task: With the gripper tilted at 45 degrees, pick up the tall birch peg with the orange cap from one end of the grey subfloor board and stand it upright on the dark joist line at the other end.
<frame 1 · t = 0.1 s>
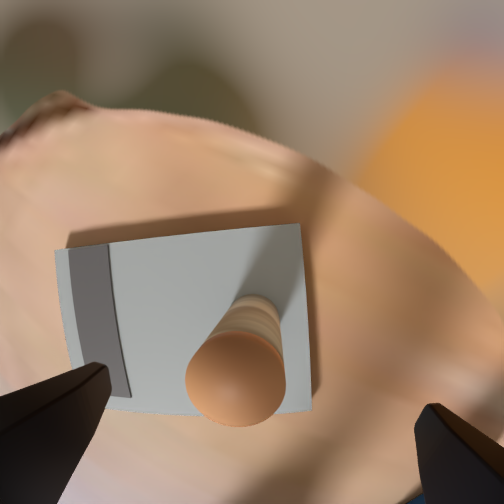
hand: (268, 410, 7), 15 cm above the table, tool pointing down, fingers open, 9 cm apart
subfloor board: (174, 328, 23), on the table
birch peg: (253, 319, 21), point 1 cm above the table, touching subfloor board
joist line: (105, 321, 23), resting on subfloor board
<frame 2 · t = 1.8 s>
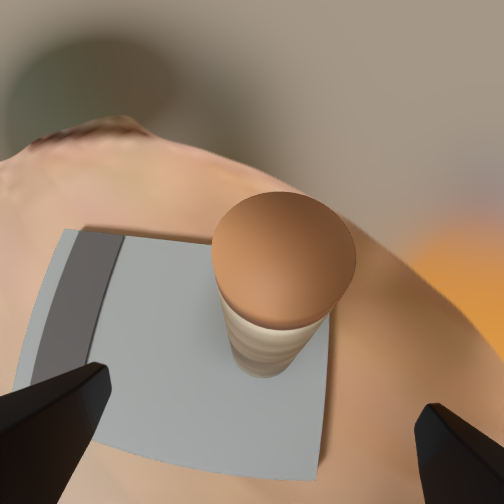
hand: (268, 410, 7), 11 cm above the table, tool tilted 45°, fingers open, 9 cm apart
subfloor board: (162, 348, 18), on the table
birch peg: (263, 347, 17), point 2 cm above the table, touching subfloor board
joist line: (83, 320, 19), resting on subfloor board
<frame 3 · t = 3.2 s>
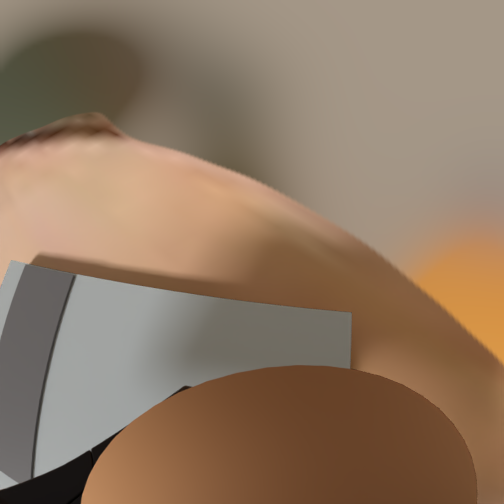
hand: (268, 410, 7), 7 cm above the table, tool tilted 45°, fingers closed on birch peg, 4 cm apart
subfloor board: (125, 426, 12), on the table
birch peg: (256, 442, 11), point 2 cm above the table, touching gripper, subfloor board
joist line: (34, 378, 13), resting on subfloor board
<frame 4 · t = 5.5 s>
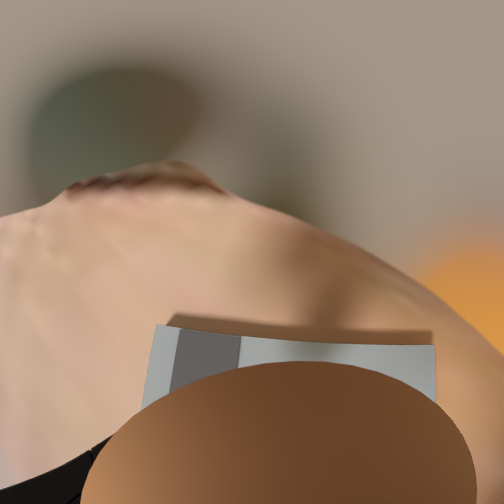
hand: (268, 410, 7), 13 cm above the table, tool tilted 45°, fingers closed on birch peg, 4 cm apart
subfloor board: (293, 443, 17), on the table
birch peg: (256, 441, 11), point 8 cm above the table, touching gripper
joist line: (200, 425, 18), resting on subfloor board
when the fingers open (8 cm above the table, at t = 7.3 s): birch peg drops 1 cm, resting on joist line.
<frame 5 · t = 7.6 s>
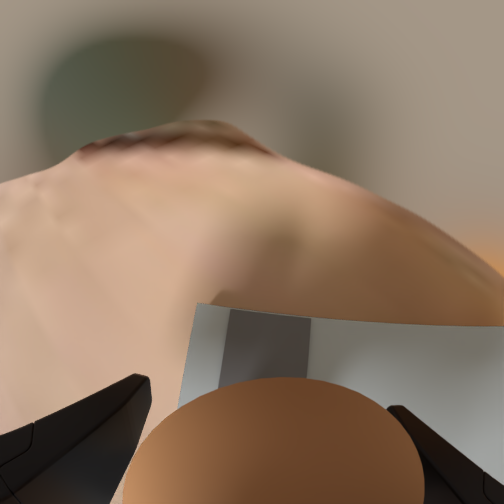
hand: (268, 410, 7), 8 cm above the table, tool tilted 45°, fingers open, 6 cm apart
subfloor board: (370, 451, 13), on the table
birch peg: (255, 440, 12), point 2 cm above the table, touching joist line
joist line: (254, 436, 13), resting on subfloor board
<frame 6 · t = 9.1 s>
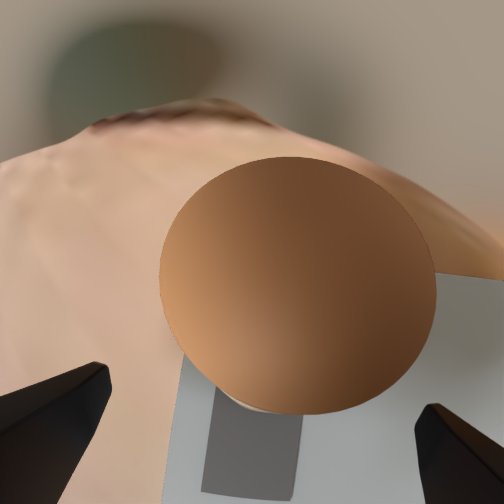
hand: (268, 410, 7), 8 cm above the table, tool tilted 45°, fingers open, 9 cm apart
subfloor board: (376, 395, 14), on the table
birch peg: (262, 373, 13), point 2 cm above the table, touching joist line
joist line: (260, 376, 15), resting on subfloor board
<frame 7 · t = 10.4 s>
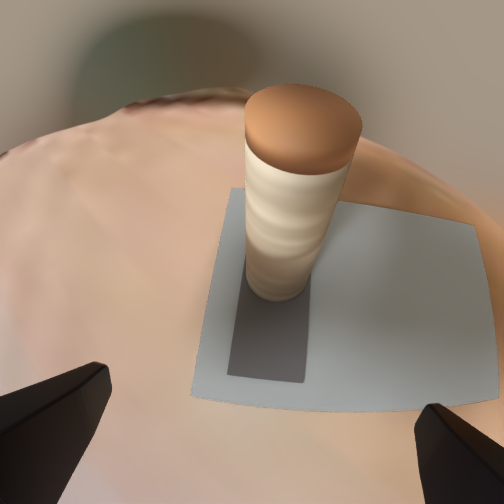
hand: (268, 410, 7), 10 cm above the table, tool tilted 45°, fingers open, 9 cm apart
subfloor board: (368, 304, 19), on the table
birch peg: (276, 273, 18), point 2 cm above the table, touching joist line
joist line: (274, 284, 20), resting on subfloor board
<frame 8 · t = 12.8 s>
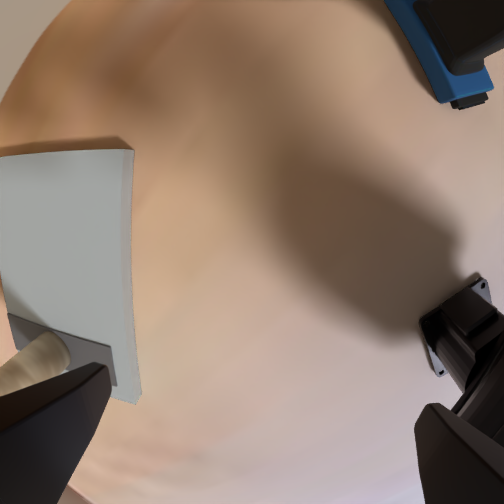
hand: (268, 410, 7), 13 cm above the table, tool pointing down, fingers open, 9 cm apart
handheld scanner: (426, 31, 15), on the table
subfloor board: (60, 277, 22), on the table
birch peg: (55, 349, 22), point 2 cm above the table, touching joist line
joist line: (65, 340, 23), resting on subfloor board
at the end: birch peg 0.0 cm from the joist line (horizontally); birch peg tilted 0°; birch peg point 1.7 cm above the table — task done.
